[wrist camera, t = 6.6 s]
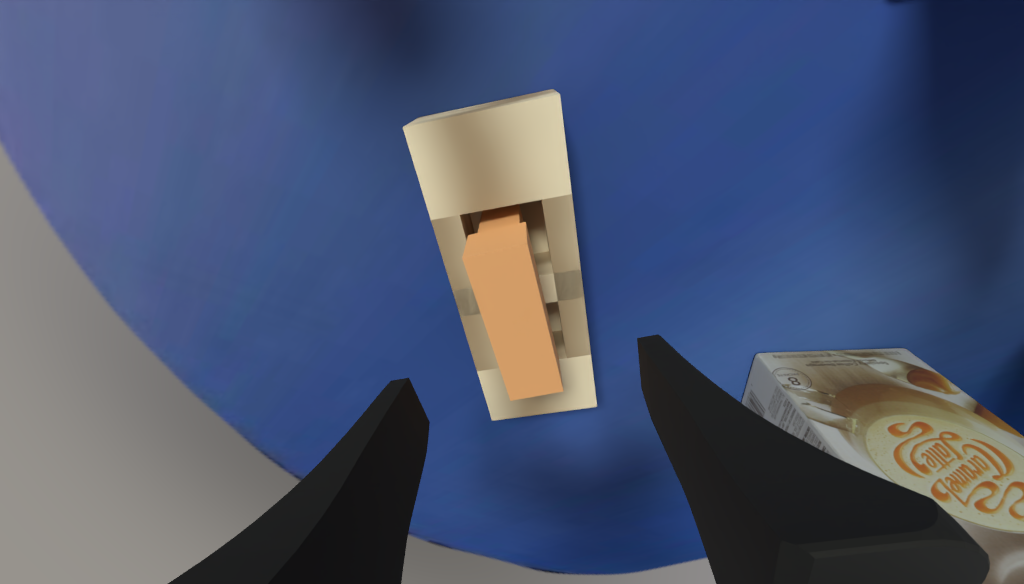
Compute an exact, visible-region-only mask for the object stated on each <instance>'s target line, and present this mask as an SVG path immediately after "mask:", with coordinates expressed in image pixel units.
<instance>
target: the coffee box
mask: <svg viewBox="0 0 1024 584" xmlns="http://www.w3.org/2000/svg"><path fill="white" fill-rule="evenodd" d="M742 404H743V405H745V406H746V407H748V408H749V409H751V410H752V411H754V412H755V413H757V414H758V415H760V416H761V417H763V418H765V419H766V420H768V421H769V422H771V423H773V424H774V425H776V426H778V427H779V428H781V429H783V430H784V431H786V432H788V433H790V434H792V435H794V436H796V437H797V438H799V439H801V440H803V441H805V442H807V443H809V444H811V445H812V446H814V447H816V448H818V449H820V450H822V451H824V452H826V453H828V454H830V455H832V456H834V457H836V458H838V459H840V460H843V461H845V462H847V463H849V464H851V465H853V466H856V467H858V468H860V469H862V470H864V471H866V472H869V473H871V474H873V475H876V476H878V477H881V478H883V479H885V480H888V481H890V482H893V483H895V484H898V485H900V486H903V487H905V488H908V489H910V490H913V491H915V492H917V493H920V494H922V495H925V496H927V497H930V498H932V499H933V500H934V501H935V502H937V503H938V504H939V505H940V506H941V507H942V508H943V509H944V510H945V511H946V512H947V513H948V514H950V515H951V516H952V517H953V518H954V519H955V520H956V521H957V522H958V523H959V524H960V525H961V526H962V527H963V528H964V529H965V530H966V531H967V533H968V534H969V535H970V536H971V537H972V538H973V539H974V540H975V541H976V542H977V543H978V544H979V545H980V546H981V547H982V548H983V550H984V551H985V552H986V553H987V554H988V556H989V561H990V569H989V572H988V574H987V577H986V579H985V580H984V582H983V583H982V584H1024V436H1023V435H1021V434H1020V433H1019V432H1017V431H1016V430H1015V429H1013V428H1012V427H1011V426H1009V425H1008V424H1006V423H1005V422H1004V421H1002V420H1001V419H1000V418H998V417H997V416H996V415H994V414H993V413H991V412H990V411H989V410H987V409H986V408H985V407H983V406H982V405H981V404H979V403H978V402H977V401H976V400H974V399H973V398H971V397H970V396H969V395H967V394H966V393H965V392H963V391H962V390H961V389H959V388H958V387H957V386H955V385H954V384H953V383H951V382H950V381H949V380H948V379H946V378H945V377H944V376H942V375H941V374H939V373H938V372H937V371H935V370H934V369H932V368H931V367H930V366H928V365H927V364H926V363H924V362H923V361H922V360H920V359H919V358H918V357H916V356H915V355H913V354H912V353H911V352H910V351H908V350H907V349H904V348H891V349H862V350H833V351H803V352H775V353H758V354H756V355H755V358H754V360H753V364H752V368H751V371H750V375H749V378H748V381H747V385H746V389H745V392H744V396H743V399H742Z"/></svg>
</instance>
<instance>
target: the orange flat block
mask: <svg viewBox="0 0 1024 584" xmlns="http://www.w3.org/2000/svg"><path fill="white" fill-rule="evenodd" d="M462 259H463V262H464V265H465V268H466V271H467V274H468V277H469V280H470V283H471V286H472V289H473V292H474V295H475V298H476V301H477V304H478V307H479V310H480V313H481V315H482V318H483V321H484V324H485V327H486V330H487V333H488V336H489V339H490V342H491V345H492V348H493V351H494V354H495V357H496V360H497V363H498V366H499V368H500V371H501V374H502V377H503V380H504V383H505V386H506V389H507V392H508V395H509V398H510V401H513V400H518V399H524V398H530V397H535V396H541V395H547V394H552V393H558V392H563V391H564V390H563V384H562V377H561V370H560V364H559V358H558V354H557V350H556V345H555V341H554V337H553V333H552V329H551V325H550V321H549V316H548V312H547V308H546V304H545V300H544V296H543V292H542V287H541V283H540V279H539V275H538V271H537V267H536V262H535V258H534V254H533V250H532V246H531V242H530V238H529V233H528V229H527V225H526V222H523V218H522V213H521V209H520V205H519V204H516V205H510V206H505V207H499V208H494V209H489V210H483V211H482V214H481V219H480V224H479V229H478V233H475V234H471V235H468V238H467V241H466V245H465V249H464V253H463V257H462Z"/></svg>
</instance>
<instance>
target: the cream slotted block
mask: <svg viewBox="0 0 1024 584" xmlns="http://www.w3.org/2000/svg"><path fill="white" fill-rule="evenodd" d="M403 130H404V133H405V137H406V140H407V143H408V147H409V150H410V153H411V156H412V160H413V163H414V166H415V170H416V173H417V176H418V179H419V183H420V186H421V189H422V192H423V196H424V199H425V202H426V206H427V209H428V212H429V215H430V219H431V222H432V225H433V228H434V232H435V235H436V238H437V242H438V245H439V248H440V251H441V255H442V258H443V261H444V264H445V268H446V271H447V274H448V278H449V281H450V284H451V287H452V291H453V294H454V297H455V300H456V304H457V307H458V310H459V314H460V317H461V320H462V323H463V327H464V330H465V333H466V336H467V340H468V343H469V346H470V350H471V353H472V356H473V359H474V363H475V366H476V369H477V373H478V376H479V379H480V382H481V386H482V389H483V392H484V395H485V399H486V402H487V405H488V409H489V412H490V415H491V418H492V421H494V420H502V419H509V418H517V417H524V416H532V415H539V414H546V413H554V412H561V411H569V410H576V409H584V408H591V407H597V401H596V393H595V384H594V376H593V368H592V359H591V351H590V342H589V334H588V326H587V317H586V309H585V300H584V292H583V284H582V275H581V267H580V258H579V250H578V242H577V233H576V225H575V216H574V208H573V199H572V191H571V183H570V174H569V166H568V157H567V149H566V141H565V132H564V124H563V115H562V107H561V99H560V94H559V93H558V92H556V91H555V90H554V89H551V90H546V91H541V92H537V93H532V94H527V95H523V96H518V97H513V98H508V99H504V100H499V101H494V102H489V103H485V104H480V105H475V106H471V107H466V108H461V109H456V110H452V111H447V112H442V113H438V114H433V115H428V116H423V117H419V118H417V119H415V120H414V121H412V122H411V123H409V124H407V125H406V126H404V127H403ZM516 204H519V205H520V209H521V213H522V218H523V222H526V225H527V229H528V233H529V238H530V242H531V246H532V250H533V254H534V258H535V262H536V267H537V271H538V275H539V279H540V283H541V287H542V292H543V296H544V300H545V304H546V308H547V312H548V316H549V321H550V325H551V329H552V333H553V337H554V341H555V345H556V350H557V354H558V358H559V364H560V370H561V377H562V384H563V390H564V391H563V392H558V393H552V394H547V395H541V396H535V397H530V398H524V399H518V400H513V401H510V398H509V395H508V392H507V389H506V386H505V383H504V380H503V377H502V374H501V371H500V368H499V366H498V363H497V360H496V357H495V354H494V351H493V348H492V345H491V342H490V339H489V336H488V333H487V330H486V327H485V324H484V321H483V318H482V315H481V313H480V310H479V307H478V304H477V301H476V298H475V295H474V292H473V289H472V286H471V283H470V280H469V277H468V274H467V271H466V268H465V265H464V262H463V259H462V257H463V253H464V249H465V245H466V241H467V238H468V235H471V234H475V233H478V229H479V224H480V219H481V214H482V211H483V210H489V209H494V208H499V207H505V206H510V205H516Z"/></svg>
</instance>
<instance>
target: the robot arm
mask: <svg viewBox="0 0 1024 584" xmlns="http://www.w3.org/2000/svg"><path fill="white" fill-rule="evenodd" d="M637 342H638V353H639V364H640V376H641V387H642V391H643V394H644V398H645V401H646V404H647V407H648V410H649V413H650V416H651V419H652V421H653V424H654V426H655V428H656V430H657V433H658V435H659V437H660V439H661V442H662V444H663V446H664V448H665V450H666V453H667V455H668V457H669V459H670V461H671V464H672V466H673V468H674V470H675V472H676V475H677V477H678V479H679V481H680V483H681V485H682V488H683V490H684V493H685V495H686V497H687V500H688V502H689V505H690V508H691V511H692V514H693V516H694V519H695V522H696V525H697V528H698V531H699V534H700V536H701V539H702V542H703V545H704V548H705V551H706V554H707V557H708V560H709V563H710V566H711V569H712V572H713V575H714V578H715V581H716V584H982V583H983V582H984V580H985V579H986V577H987V574H988V572H989V569H990V561H989V556H988V554H987V553H986V552H985V551H984V550H983V548H982V547H981V546H980V545H979V544H978V543H977V542H976V541H975V540H974V539H973V538H972V537H971V536H970V535H969V534H968V533H967V531H966V530H965V529H964V528H963V527H962V526H961V525H960V524H959V523H958V522H957V521H956V520H955V519H954V518H953V517H952V516H951V515H950V514H948V513H947V512H946V511H945V510H944V509H943V508H942V507H941V506H940V505H939V504H938V503H937V502H935V501H934V500H933V499H932V498H930V497H927V496H925V495H922V494H920V493H917V492H915V491H913V490H910V489H908V488H905V487H903V486H900V485H898V484H895V483H893V482H890V481H888V480H885V479H883V478H881V477H878V476H876V475H873V474H871V473H869V472H866V471H864V470H862V469H860V468H858V467H856V466H853V465H851V464H849V463H847V462H845V461H843V460H840V459H838V458H836V457H834V456H832V455H830V454H828V453H826V452H824V451H822V450H820V449H818V448H816V447H814V446H812V445H811V444H809V443H807V442H805V441H803V440H801V439H799V438H797V437H796V436H794V435H792V434H790V433H788V432H786V431H784V430H783V429H781V428H779V427H778V426H776V425H774V424H773V423H771V422H769V421H768V420H766V419H765V418H763V417H761V416H760V415H758V414H757V413H755V412H754V411H752V410H751V409H749V408H748V407H746V406H745V405H743V404H742V403H740V402H739V401H737V400H736V399H735V398H733V397H732V396H731V395H729V394H728V393H726V392H725V391H724V390H722V389H721V388H720V387H718V386H717V385H716V384H715V383H713V382H712V381H711V380H710V379H708V378H707V377H706V376H705V375H703V374H702V373H701V372H700V371H699V370H697V369H696V368H695V367H694V366H693V365H691V364H690V363H689V362H688V361H687V360H686V359H685V358H683V357H682V356H681V355H680V354H679V353H678V352H677V351H676V350H675V349H674V348H673V347H672V346H670V345H669V344H668V343H667V342H666V341H665V340H664V339H663V338H662V337H661V336H659V335H653V336H647V337H641V338H637ZM428 434H429V420H428V418H427V416H426V414H425V411H424V409H423V407H422V405H421V403H420V401H419V399H418V396H417V394H416V392H415V390H414V388H413V386H412V384H411V381H410V379H409V378H405V379H399V380H394V381H390V383H389V384H388V385H387V386H386V387H385V388H384V389H383V390H382V392H381V393H380V394H379V395H378V396H377V398H376V399H375V400H374V401H373V402H372V404H371V405H370V406H369V407H368V409H367V410H366V411H365V412H364V413H363V415H362V416H361V417H360V418H359V419H358V420H357V422H356V423H355V424H354V425H353V426H352V428H351V429H350V430H349V431H348V432H347V433H346V435H345V436H344V437H343V438H342V439H341V440H340V441H339V442H338V443H337V444H336V446H335V447H334V448H333V449H332V450H331V451H330V452H329V453H328V454H327V455H326V456H325V458H324V459H323V460H322V461H321V462H320V463H319V464H318V465H317V466H316V467H315V468H314V469H313V470H312V471H311V472H310V473H309V474H308V475H307V476H306V477H305V478H304V479H303V480H302V481H301V482H299V483H298V484H297V485H296V486H295V487H294V488H293V489H292V490H291V491H290V492H289V493H288V494H287V495H285V496H284V497H283V498H282V499H281V500H279V501H278V502H277V503H276V504H275V505H274V506H273V507H271V508H270V509H269V510H268V511H267V512H265V513H264V514H263V515H262V516H261V517H259V518H258V519H257V520H256V521H255V522H253V523H252V524H251V525H250V526H248V527H247V528H246V529H244V530H243V531H242V532H241V533H239V534H238V535H237V536H236V537H234V538H233V539H231V540H230V541H229V542H227V543H226V544H225V545H223V546H222V547H221V548H219V549H218V550H217V551H215V552H214V553H212V554H211V555H210V556H208V557H207V558H205V559H204V560H202V561H201V562H200V563H198V564H197V565H195V566H194V567H192V568H191V569H189V570H188V571H186V572H185V573H183V574H182V575H180V576H179V577H177V578H176V579H174V580H173V581H171V582H170V583H168V584H401V580H402V571H403V564H404V556H405V549H406V542H407V536H408V531H409V526H410V521H411V517H412V513H413V509H414V505H415V500H416V496H417V492H418V488H419V484H420V479H421V475H422V471H423V466H424V462H425V457H426V453H427V444H428Z"/></svg>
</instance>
